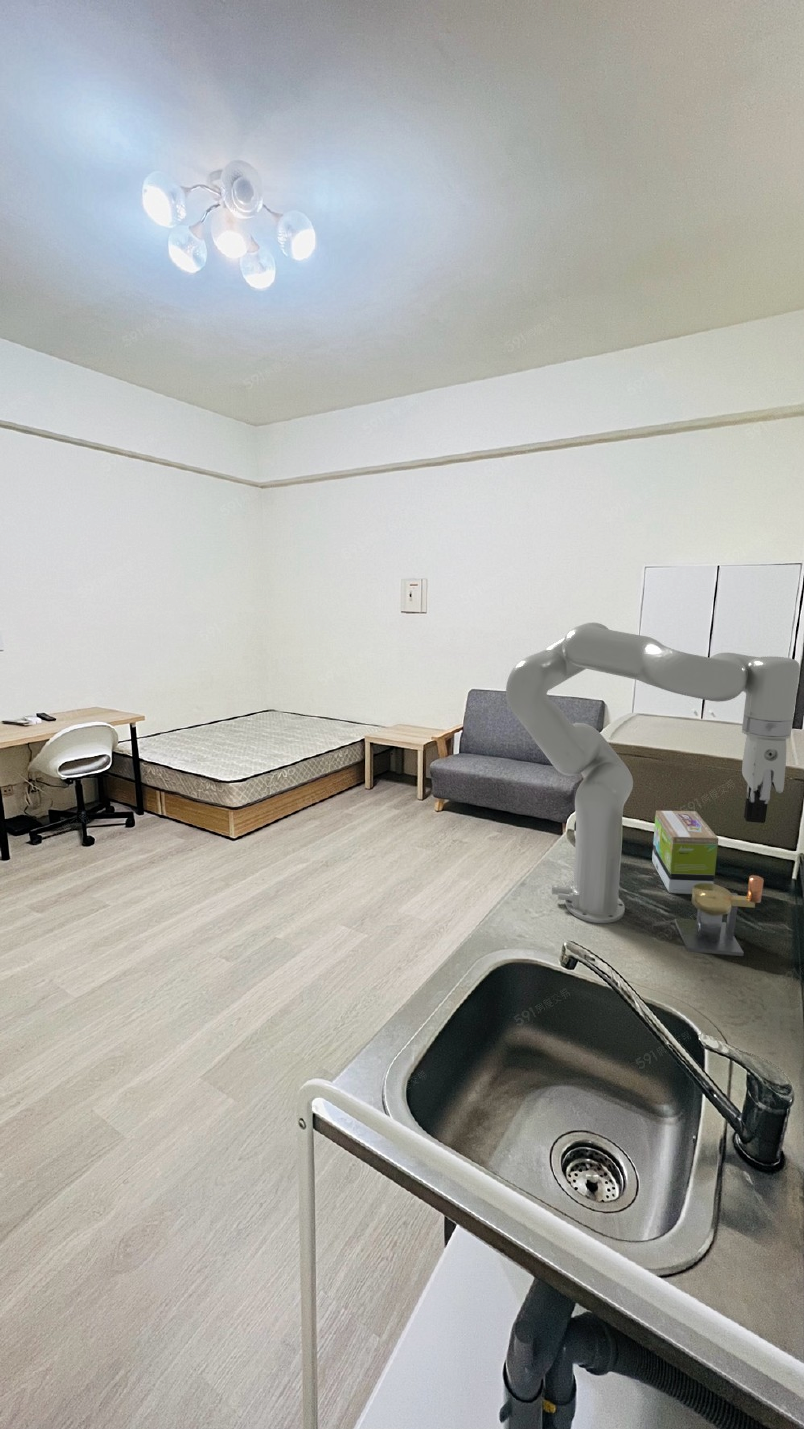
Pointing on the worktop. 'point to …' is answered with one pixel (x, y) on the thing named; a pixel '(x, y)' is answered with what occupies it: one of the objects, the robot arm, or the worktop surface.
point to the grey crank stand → (710, 933)
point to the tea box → (683, 850)
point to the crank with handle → (725, 897)
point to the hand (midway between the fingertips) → (754, 820)
